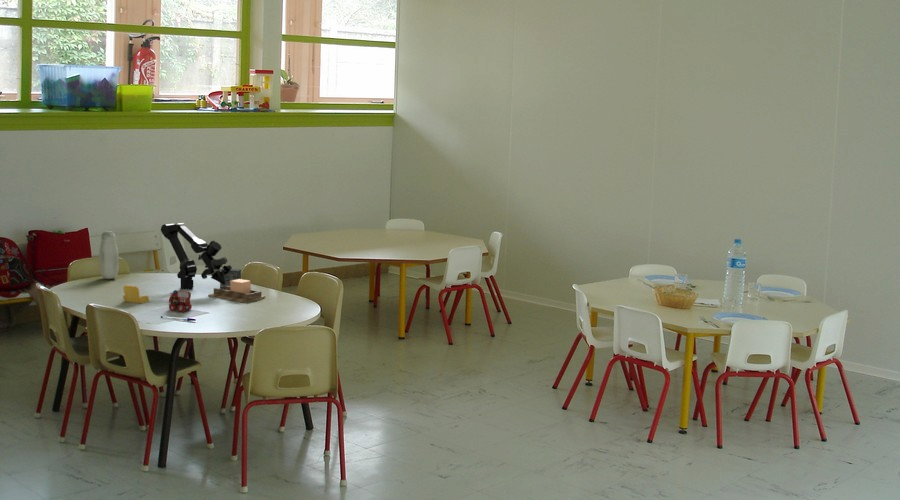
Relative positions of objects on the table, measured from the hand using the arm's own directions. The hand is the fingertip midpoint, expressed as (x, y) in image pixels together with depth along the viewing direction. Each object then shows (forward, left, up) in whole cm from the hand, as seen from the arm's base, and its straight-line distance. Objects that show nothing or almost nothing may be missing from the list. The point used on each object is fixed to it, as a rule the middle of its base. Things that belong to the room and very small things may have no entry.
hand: (224, 284), depth 535 cm
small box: (+4, +20, -6) cm, 21 cm away
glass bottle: (-63, +52, -6) cm, 82 cm away
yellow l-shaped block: (-45, -12, -7) cm, 47 cm away
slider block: (+8, -8, -5) cm, 12 cm away
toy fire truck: (-23, -36, -6) cm, 43 cm away
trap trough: (+6, -6, -6) cm, 11 cm away
